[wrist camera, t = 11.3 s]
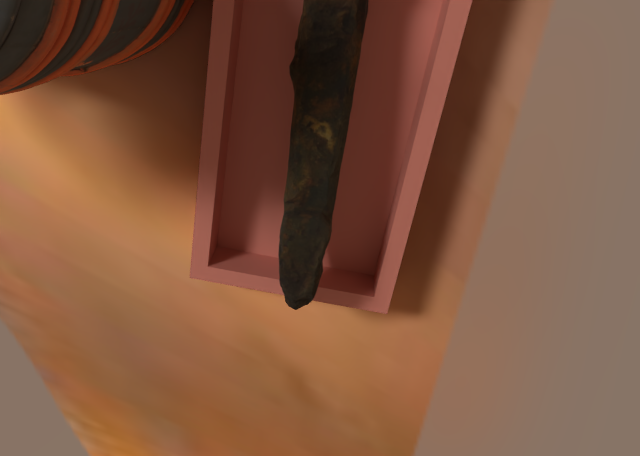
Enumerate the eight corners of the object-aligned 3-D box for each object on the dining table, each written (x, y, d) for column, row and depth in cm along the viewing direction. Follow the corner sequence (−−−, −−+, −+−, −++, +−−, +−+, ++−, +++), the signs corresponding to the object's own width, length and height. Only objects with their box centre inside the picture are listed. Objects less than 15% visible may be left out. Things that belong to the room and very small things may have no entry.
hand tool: (305, -66, 29) (296, -81, 25) (385, -51, 29) (390, -64, 25) (253, 281, 36) (238, 317, 31) (319, 293, 36) (314, 331, 31)
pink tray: (251, -244, 27) (236, -267, 24) (510, -193, 27) (529, -208, 24) (203, 249, 39) (189, 277, 36) (385, 283, 39) (387, 314, 36)
